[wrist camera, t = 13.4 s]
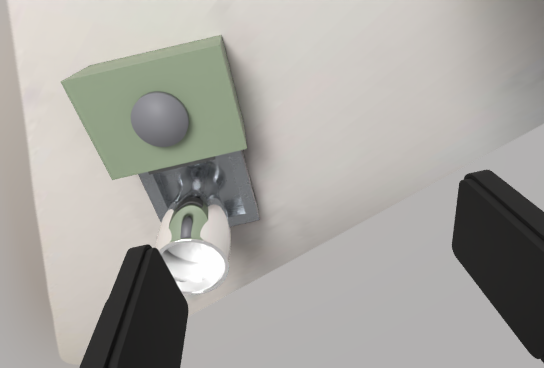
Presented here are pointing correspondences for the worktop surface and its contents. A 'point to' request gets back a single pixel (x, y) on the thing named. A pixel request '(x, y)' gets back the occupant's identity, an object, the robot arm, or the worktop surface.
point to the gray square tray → (235, 198)
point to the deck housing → (160, 108)
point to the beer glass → (197, 230)
